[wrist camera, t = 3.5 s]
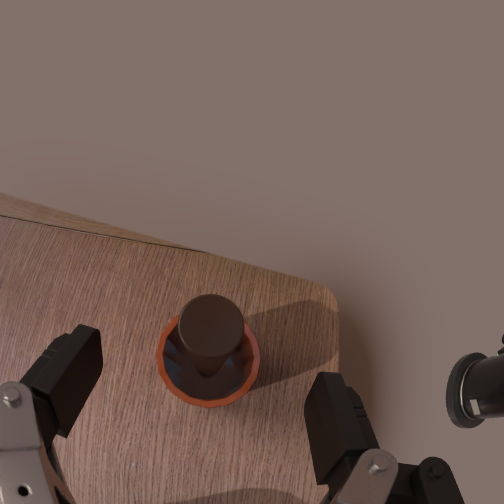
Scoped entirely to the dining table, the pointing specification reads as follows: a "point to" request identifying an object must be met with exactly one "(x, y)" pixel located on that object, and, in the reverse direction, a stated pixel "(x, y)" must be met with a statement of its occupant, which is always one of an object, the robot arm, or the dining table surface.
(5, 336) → the dining table surface
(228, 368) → the utensil cup
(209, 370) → the stirring stick
